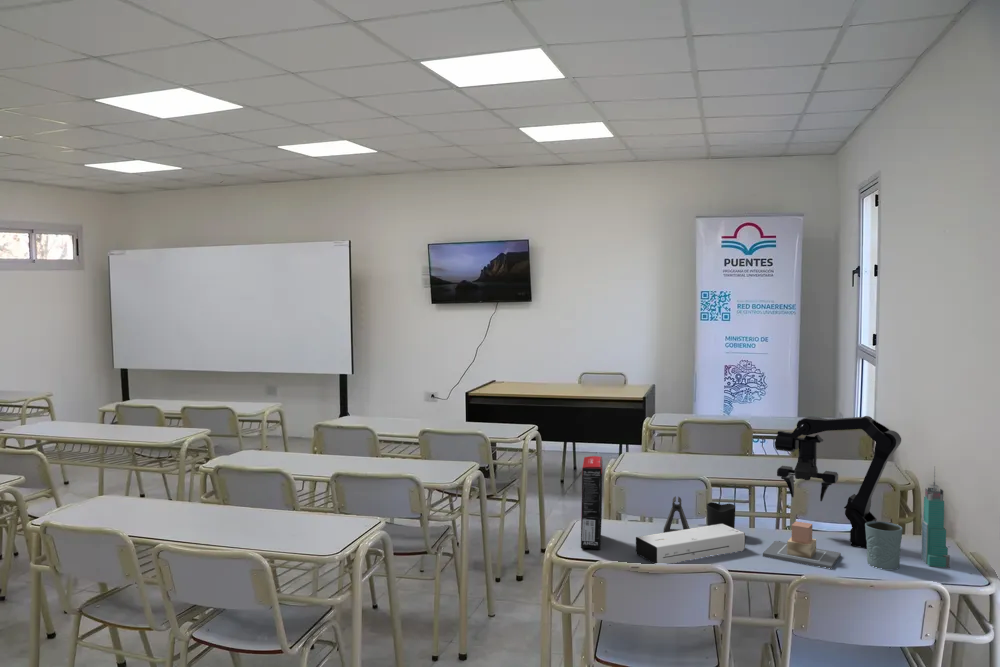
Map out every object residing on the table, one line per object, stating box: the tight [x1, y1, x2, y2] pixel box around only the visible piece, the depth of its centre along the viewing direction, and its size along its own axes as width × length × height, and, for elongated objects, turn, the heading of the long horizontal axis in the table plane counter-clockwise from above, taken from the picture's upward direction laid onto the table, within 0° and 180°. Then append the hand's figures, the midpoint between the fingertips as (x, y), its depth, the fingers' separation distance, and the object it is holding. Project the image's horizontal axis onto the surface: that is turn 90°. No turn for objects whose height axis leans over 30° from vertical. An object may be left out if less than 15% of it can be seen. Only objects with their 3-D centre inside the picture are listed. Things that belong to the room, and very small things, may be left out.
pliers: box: [662, 496, 691, 533], centre depth 255 cm, size 9×6×12 cm, turn 75°
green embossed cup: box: [865, 520, 903, 570], centre depth 223 cm, size 10×10×12 cm
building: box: [921, 467, 951, 568], centre depth 223 cm, size 6×6×30 cm
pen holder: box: [706, 501, 736, 528], centre depth 253 cm, size 9×9×10 cm
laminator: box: [635, 524, 746, 564], centre depth 235 cm, size 34×12×6 cm, turn 113°
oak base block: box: [786, 536, 817, 558], centre depth 231 cm, size 7×7×4 cm
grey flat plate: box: [762, 540, 842, 570], centre depth 231 cm, size 20×14×1 cm
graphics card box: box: [580, 455, 603, 550], centre depth 245 cm, size 17×7×27 cm, turn 172°
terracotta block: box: [791, 521, 813, 544], centre depth 231 cm, size 5×5×5 cm
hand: (806, 499), depth 252 cm, fingers open, 9 cm apart
